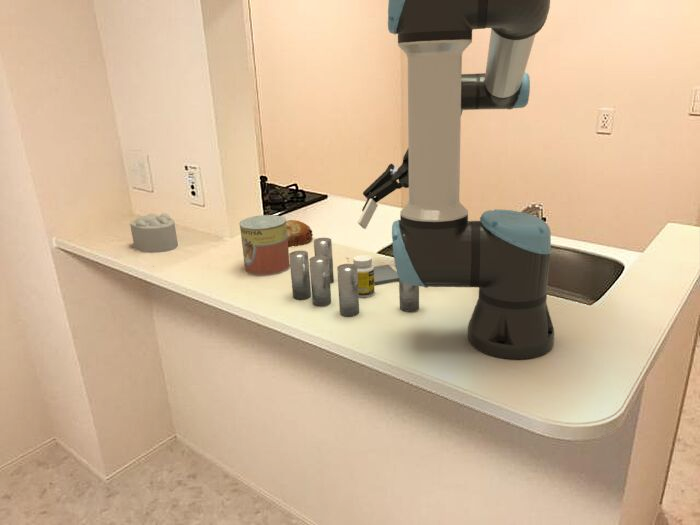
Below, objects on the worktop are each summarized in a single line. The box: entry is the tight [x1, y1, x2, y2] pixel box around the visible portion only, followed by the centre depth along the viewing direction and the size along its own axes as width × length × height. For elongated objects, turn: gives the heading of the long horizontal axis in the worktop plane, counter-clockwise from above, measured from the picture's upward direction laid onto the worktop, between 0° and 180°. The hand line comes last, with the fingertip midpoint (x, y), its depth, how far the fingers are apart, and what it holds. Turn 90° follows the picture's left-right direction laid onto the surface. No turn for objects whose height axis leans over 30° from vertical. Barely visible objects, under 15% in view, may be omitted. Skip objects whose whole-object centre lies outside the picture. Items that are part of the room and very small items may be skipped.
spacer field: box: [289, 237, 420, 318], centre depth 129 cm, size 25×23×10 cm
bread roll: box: [286, 219, 314, 248], centre depth 167 cm, size 10×10×8 cm
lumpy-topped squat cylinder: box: [129, 213, 179, 254], centre depth 168 cm, size 10×13×9 cm
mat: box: [373, 264, 399, 286], centre depth 140 cm, size 9×9×1 cm
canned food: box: [238, 214, 291, 277], centre depth 147 cm, size 11×11×12 cm
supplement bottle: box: [352, 254, 375, 298], centre depth 130 cm, size 5×5×8 cm
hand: (384, 231), depth 133 cm, fingers open, 13 cm apart
